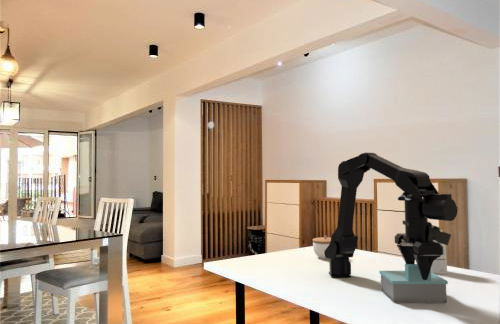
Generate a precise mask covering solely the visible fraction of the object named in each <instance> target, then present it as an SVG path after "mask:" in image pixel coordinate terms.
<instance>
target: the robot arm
mask: <svg viewBox="0 0 500 324" xmlns="http://www.w3.org/2000/svg"><path fill="white" fill-rule="evenodd" d="M371 169H372V171H373V170H374V171H375V172H377V173H379V174H381V175H383V176H384V177H387V178H389V179H391V180H392V181H393V182H394V183H395V185H396V187H398V188H399V189H400V190H401V191H402V193H401V195H399V196H398V197H397V200H398V201H403V202H404V220H402V225H404V226H405V227H404V229H405V233H402V232H401V233H399V232H398V233H396V234H395V235H394V243H395V244H396V247H397V249H398V250H399V253H400V255H401V256H402V259H403V261H404V263H405V264H417V266H418V268H419V271H420V274H421V277H422V279H423V280H427V279H428V276H429V273H430V269H431V266H432V263H433V261H434V260H435V259H437V258H439V257H440V256H441V255H444V251H443V246H442V245H441V244H439V243H442V244H444V245H446V247H447V246H449V244H450V240H451V238H452V234H450V233H448V232H444V231H443V230H441V229H440V227H439V226H437V225H433V224H432V222H431V221H428V220H437V221H445V222H446V221H447V222H452V221H455V219H456V217H457V215H458V206H457V203H456V202H455V200H454V199H453V198H452V194H451V193H441V194H440V192H439V191H438V190H437V189H436V187H435V185H434V183H433V182H432V181H431V179H430V175H429V174H428V173H427V172H424V171H420V170H417V169H411V168H405V167H402V166H400V165H398V164H396V163H394V162H392V161H390V160H388V159H386V158H384V157H381V156H380V155H378V154H377V153H375V152H362V153H360V154H359V155H357V156H354V157H352V158H349V159H347V160H343V161H341V162H340V163H339V164H338V167H337V179H338V181H339V184H340V185H341V186H340V187H341V189H340V190H341V192H340V201H339V208H338V217H337V227H336V229H334V231H333V233H332V234H331V236H330V238H331V241H330V244H329V246H328V247H327V248H326V250H325V251H324V254H325V257H326V258H329V259H328V260H329V263H328V264H329V271H328V274H329V275H330V277H331V278H336V279H337V278H348V279H349V278H352V277H351V275H352V263H351V262H350V258H353V257H354V255H355V254H354V253H355V251H356V249H357V248H358V239H359V236H358V235H355V232H354V230H353V227H354V226H353V224H354V216H355V209H356V208H355V207H356V201H357V199H356V198H357V190H358V188H359V186H360V184H361V183H362V182H363V180H364V176H365V173H367V172H369V171H370V170H371ZM440 230H441V231H440ZM442 231H443V232H442ZM433 240H435V241H436V242H434V241H433ZM437 242H439V243H437Z"/></svg>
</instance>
